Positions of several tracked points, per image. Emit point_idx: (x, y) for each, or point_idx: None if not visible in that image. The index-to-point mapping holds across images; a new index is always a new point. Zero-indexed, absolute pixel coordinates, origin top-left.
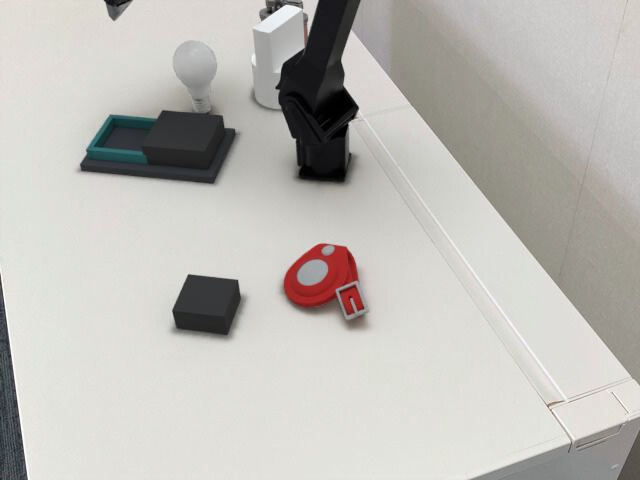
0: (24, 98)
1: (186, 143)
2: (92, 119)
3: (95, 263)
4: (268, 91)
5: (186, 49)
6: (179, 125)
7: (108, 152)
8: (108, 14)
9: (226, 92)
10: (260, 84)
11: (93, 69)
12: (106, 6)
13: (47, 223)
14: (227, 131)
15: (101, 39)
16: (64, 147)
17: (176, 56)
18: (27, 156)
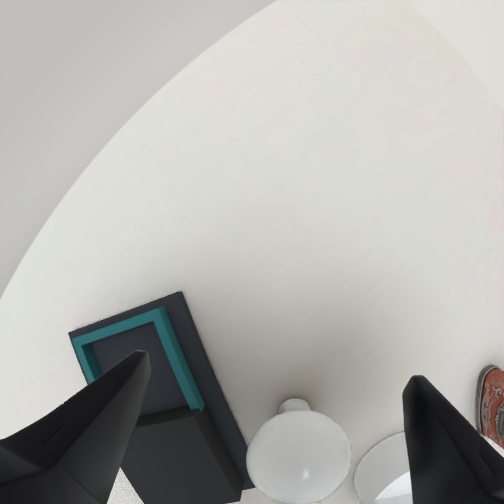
0: (175, 105)
1: (145, 487)
2: (174, 248)
3: (13, 430)
4: (359, 494)
5: (274, 487)
6: (174, 461)
7: (85, 374)
8: (131, 353)
9: (369, 400)
10: (365, 487)
11: (309, 128)
12: (101, 376)
13: (10, 355)
14: (249, 481)
15: (388, 81)
16: (97, 267)
17: (259, 459)
18: (64, 235)
